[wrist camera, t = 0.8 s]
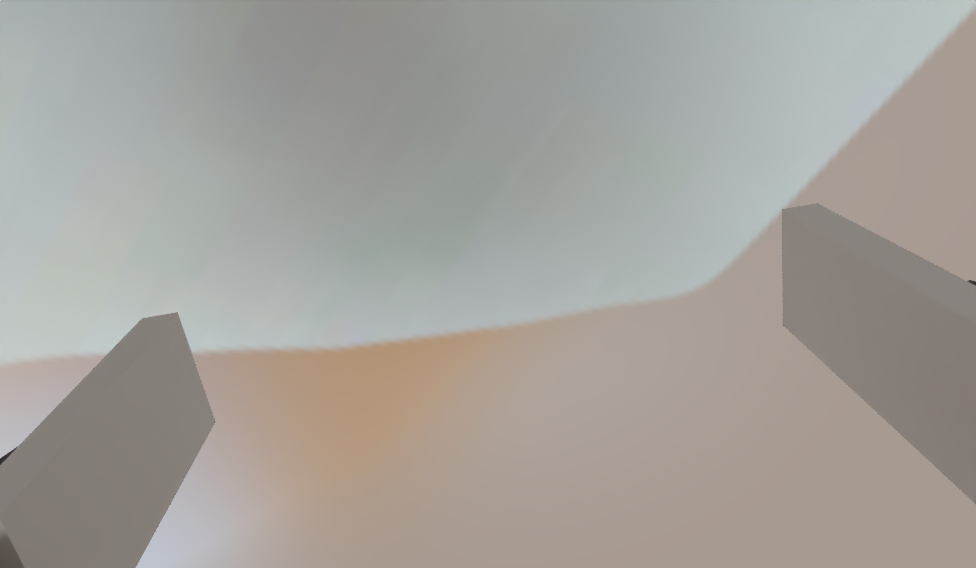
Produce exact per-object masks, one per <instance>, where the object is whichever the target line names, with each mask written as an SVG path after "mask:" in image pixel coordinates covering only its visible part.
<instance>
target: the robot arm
mask: <svg viewBox="0 0 976 568" xmlns="http://www.w3.org/2000/svg"><path fill="white" fill-rule="evenodd" d="M782 269H783V270H782V271H783V326H784V327H786V328H787V329H788V330H789V331H790V332H791V333H792V334H793V335H794V336H795V337H796V338H797V339H798V340H800V341H801V342H802V343H803V344H804V345H805V346H806V347H807V348H808V349H809V350H810V351H811V352H812V353H814V354H815V355H816V356H817V357H818V358H819V359H820V360H821V361H822V362H823V363H824V364H825V365H826V366H828V367H829V368H830V369H831V370H832V371H833V372H834V373H835V374H836V375H837V376H838V377H839V378H840V379H842V380H843V381H844V382H845V383H846V384H847V385H848V386H849V387H850V388H851V389H852V390H853V391H855V392H856V393H857V394H858V395H859V396H860V397H861V398H862V399H863V400H864V401H865V402H866V403H867V404H868V405H870V406H871V407H872V408H873V409H874V410H875V411H876V412H877V413H878V414H879V415H881V417H882V418H884V419H885V420H886V421H887V422H888V423H889V424H890V425H891V426H892V427H893V428H894V429H895V430H896V431H898V432H899V433H900V434H901V435H902V436H903V437H904V438H905V439H906V440H907V441H908V442H909V443H911V444H912V445H913V446H914V447H915V448H916V449H917V450H918V451H919V452H920V453H921V454H922V455H923V456H925V457H926V458H927V459H928V460H929V461H930V462H931V463H932V464H933V465H934V466H935V467H936V468H937V469H939V470H940V471H941V472H942V473H943V474H944V475H945V476H946V477H947V478H948V479H949V480H950V481H951V482H953V483H954V484H955V485H956V486H957V487H958V488H959V489H960V490H961V491H962V492H963V493H964V494H966V495H967V496H968V497H969V498H970V499H971V500H972V501H973V502H974V503H975V504H976V282H975V281H971V280H969V281H966V280H964V279H962V278H960V277H958V276H956V275H954V274H952V273H950V272H948V271H947V270H944V269H943V268H941V267H939V266H937V265H935V264H933V263H931V262H929V261H927V260H925V259H923V258H921V257H919V256H918V255H916V254H914V253H912V252H910V251H908V250H906V249H904V248H902V247H900V246H898V245H896V244H895V243H893V242H891V241H889V240H887V239H885V238H883V237H881V236H879V235H877V234H875V233H873V232H871V231H869V230H867V229H866V228H864V227H862V226H860V225H858V224H856V223H854V222H852V221H850V220H848V219H846V218H844V217H842V216H841V215H839V214H836V213H834V212H833V211H831V210H829V209H827V208H825V207H823V206H821V205H819V204H811V205H806V206H799V207H793V208H788V209H782ZM214 423H215V419H214V416H213V413H212V411H211V408H210V405H209V402H208V399H207V396H206V393H205V390H204V387H203V384H202V382H201V379H200V376H199V373H198V370H197V367H196V364H195V362H194V359H193V356H192V353H191V350H190V347H189V344H188V341H187V338H186V335H185V333H184V330H183V327H182V324H181V321H180V318H179V315H178V312H177V313H171V314H165V315H159V316H154V317H148V318H142V319H141V320H140V321H139V322H138V323H137V324H136V325H135V326H134V327H133V329H132V330H131V331H130V332H129V333H128V334H127V335H126V336H125V337H124V338H123V339H122V340H121V341H120V342H119V343H118V344H117V345H116V346H115V347H114V348H113V349H112V350H111V351H110V352H109V353H108V354H107V355H106V356H105V357H104V359H102V361H101V362H100V363H99V364H98V365H97V366H96V367H95V368H94V369H93V370H92V371H91V372H90V373H89V374H88V375H87V376H86V377H85V378H84V379H83V380H82V381H81V382H80V383H79V384H78V385H77V386H76V387H75V388H74V389H73V391H72V392H71V393H70V394H69V395H68V396H67V397H66V398H65V399H64V400H63V401H62V402H61V403H60V404H59V405H58V406H57V407H56V408H55V409H54V410H53V411H52V412H51V413H50V414H49V415H48V416H47V417H46V418H45V420H43V422H42V423H41V424H40V425H39V426H38V427H37V428H36V429H35V430H34V431H33V432H32V433H31V434H30V435H29V436H28V437H27V438H26V439H25V441H23V442H22V443H21V444H20V445H19V446H18V447H17V448H15V449H14V450H12V451H11V452H9V453H8V454H6V455H5V456H3V457H2V458H0V568H135V567H136V566H137V564H138V562H139V560H140V558H141V556H142V555H143V553H144V551H145V549H146V547H147V546H148V544H149V542H150V540H151V538H152V536H153V535H154V533H155V531H156V529H157V527H158V526H159V524H160V522H161V520H162V518H163V516H164V515H165V513H166V511H167V509H168V507H169V505H170V504H171V502H172V500H173V498H174V496H175V495H176V493H177V491H178V489H179V487H180V485H181V484H182V482H183V479H184V478H185V476H186V474H187V472H188V471H189V469H190V467H191V465H192V463H193V462H194V460H195V458H196V456H197V454H198V452H199V451H200V449H201V447H202V445H203V443H204V442H205V440H206V438H207V436H208V434H209V433H210V431H211V429H212V427H213V425H214Z"/></svg>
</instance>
